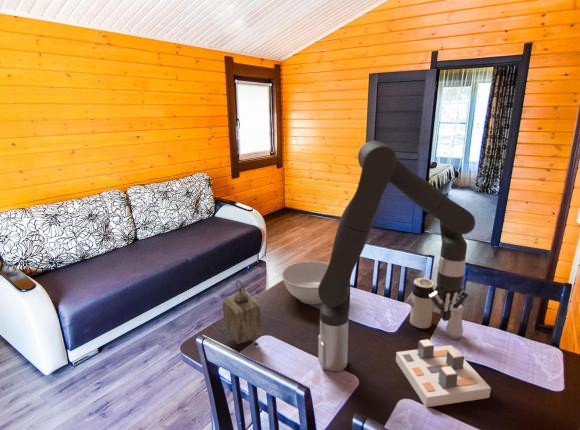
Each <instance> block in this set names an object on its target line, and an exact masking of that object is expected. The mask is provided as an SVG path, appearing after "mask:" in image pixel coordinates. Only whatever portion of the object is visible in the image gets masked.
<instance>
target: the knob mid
mask: <svg viewBox="0 0 580 430" xmlns="http://www.w3.org/2000/svg"><path fill="white" fill-rule="evenodd" d="M464 359H465V356H464V355H463V354H462V353H461V352H460V351H459V350H458V349H455V350H451V351H447V358H446V363H447V364H448V366H451V367H452V368H453V370H457V369H463V363H464Z"/></svg>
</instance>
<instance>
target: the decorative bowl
mask: <svg viewBox="0 0 580 430" xmlns="http://www.w3.org/2000/svg"><path fill="white" fill-rule="evenodd" d="M328 265H329V262H328V263H327V262H323V261H318V260H317V261H314V260H312V261H310V260H309V261H301V262H300V261H299V262H296V263H292V264H291V265H288V266H287V267H285V268H284V269H283V271H282V272H281V278H282V281H283V284H284V285H285V288H286V289H287V291H288V292H289V293H290V295H292V296H293V297H294V298H297V299H298V300H299V301H300V302H301V303H303V304H307V305H319V304H321V302H322V301H321V300H320V298H319V294H318V287H319V284H320V282H321V280H322V278H323V276H324V274H325V273H326V270H327V268H328ZM318 303H319V304H318Z"/></svg>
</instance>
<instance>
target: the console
mask: <svg viewBox="0 0 580 430" xmlns="http://www.w3.org/2000/svg"><path fill="white" fill-rule="evenodd" d="M451 350H456V349H455V348H454V347H453V345H451V344H450V345H443V346H434V352H433V357H432V358H425V359H423V358H422V357H421V356H420V354H419V353H418V348H417V349H411V350H404V351H403V350H402V351H396V353H395V355H396V356H395V362H396V363H397V365H398V367H399V368H400V370H401V372H402V373H403V375H404V377H406V379H407V380H408V382H409V384H410V385H411V386H412V388H413V389H414V391H415V393H416V394H417V395H418V397H419V399H420V401H421V402H422V403H423V405H424V408H431V407H436V406H443V405H444V406H445V405H450V404H456V403H462V402H470V401H476V400H483V399H490V395H491V389H492V387H490V385H489V384H488V383H487V382H486V381H485V379H484V378H482V377H481V376H480V375H479V373H478V372H477V371H476V370H475V369H474V368H473V367H472V366H471V365H470V364H469V362H467V361H466V359H465V358H464V363H463V369H457V370H454V371H455V372H456V373H457V375H458V376H457V384H456V387H451V388H444V386H443V385H442V384H441V382H440V381H439V380H438V379H439V371H440V368H441V367H448V364H447V363H446V358H447V351H451Z"/></svg>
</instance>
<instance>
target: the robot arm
mask: <svg viewBox="0 0 580 430" xmlns="http://www.w3.org/2000/svg"><path fill="white" fill-rule="evenodd" d="M357 160H358V164H359V166H360V168H361V173H360V176H359V181H358V185H357V188H356V190H355V193H354V195H353V196H352V198H351V199H350V201H349V202H348V204H347V205H346V207H345V208H344V211H343V213H341V214H342V215H341V217H340V219H339V223H338V226H337V230H336V232H335V233H336V234H335V236H334V242H333V244H332V245H333V246H332V250H331V256H330V259H329V262H328V264H329V265H328V268H327V270H326V273H325V274H324V276H323V278H322V280H321V282H320V284H319V287H318V294H319V298H320V300H321V301H322V302H321V303H320V304H321V305H320V309H319V334H318V337H317V339H318V342H317V343H318V346H317V348H318V351H317V352H318V353H317V354H318V355H317V356H318V361H320V362H319V364H320V367H321V370H322V369H323V370H322V371H328V370H330V371H329V372H332V371H337V372H341V371H343V370H345V369H346V367H347V366H348V350H349V349H348V347H349V344H348V343H349V313H350V305H351V301H350V300H351V278H352V275H353V272H354V269H355V267H356V264H357V263H358V260H359V259H360V257H361V255H362V252H363V250H364V248H365V246H366V244H367V242H368V238H369V236H370V233H371V230H372V228H373V224H374V221H375V218H376V215H377V214H378V213H377V212H378V210H379V206H380V203H381V200H382V197H383V195H384V193H385V191H386V188H387V187H388V184H389V183H390V184H392V185H393V186H394V187H395V188H396V189H397V190H399V191H400V192H401V193H402V194H404V196H406V197H407V198H408V199H409V200H411V202H412V203H414V204H415V205H416V206H418V207H419V208H420V209H422V210H423V211H424V212H426V213H427V214H429V215H431V216H432V217H434V218H436V219H438V220H439V229H440V230H439V232H440V237H441V238H440V239H441V246H440V255H439V259H438V265H437V272H436V273H437V276H436V286H435V288H434V293H432V294H431V293H429V294H428V297H429V298H430V299H431V300H432V302H433V305H434V306H435V307H436V308H437V309H439V312H440V315H439V316H440V319H442V320H443V322H447V321H449V319H450V317H451V312H452V310H453V308H458V307H459V306H460V305H462V304H463V303H464V301H465V300H466V299H467V298H468V297H469V294H468V293H467V292H466V291H465V290H464V289H463V287H464V286H463V285H464V279H465V271H466V258H467V251H468V250H467V249H468V244H467V241H466V240H465V238H464V236H463V235H468V234H470V233H471V232H472V231H474V229H475V227H476V219H475V217H474V215H473V214H472V212H470V211H468V210H467V209H466V208H464V207H463V206H461V205H459V204H458V203H457V202H455V201H454V200H452V199H450V198H449V197H448V196H447V195H446V194H445V193H443V192H442V191H441V190H440V189H438V187H436V186H434V185H432V184H431V183H430V182H429V181H427V180H425V178H422V177H421V176H419V175H418V173H417V174H416V173H415V172H413V171H412V170H411V169H410V168H408V167H407V166H406V165H404V164H403V163H402V162H401V161H400V160H399V159H398V158H397V155H396V152H395V151H394V149H393V148H392V147H390V145H388V144H387V143H385V142H383V141H380V140H370V141H367V142H365V143H364V144H362V146H361V147H360V148H359V150H358V153H357ZM438 300H439V301H438ZM324 369H326V370H324Z"/></svg>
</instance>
